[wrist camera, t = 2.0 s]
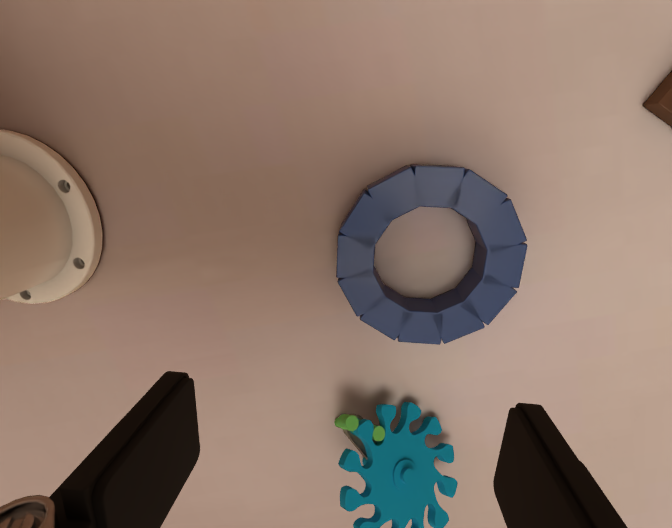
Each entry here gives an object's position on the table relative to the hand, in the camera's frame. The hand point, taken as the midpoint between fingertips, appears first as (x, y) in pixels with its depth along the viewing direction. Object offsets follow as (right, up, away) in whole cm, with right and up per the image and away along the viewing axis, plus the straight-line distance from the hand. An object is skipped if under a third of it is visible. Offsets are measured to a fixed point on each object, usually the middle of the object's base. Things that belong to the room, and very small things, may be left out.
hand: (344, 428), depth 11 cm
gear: (+4, -9, +20) cm, 22 cm away
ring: (+6, +6, +15) cm, 17 cm away
